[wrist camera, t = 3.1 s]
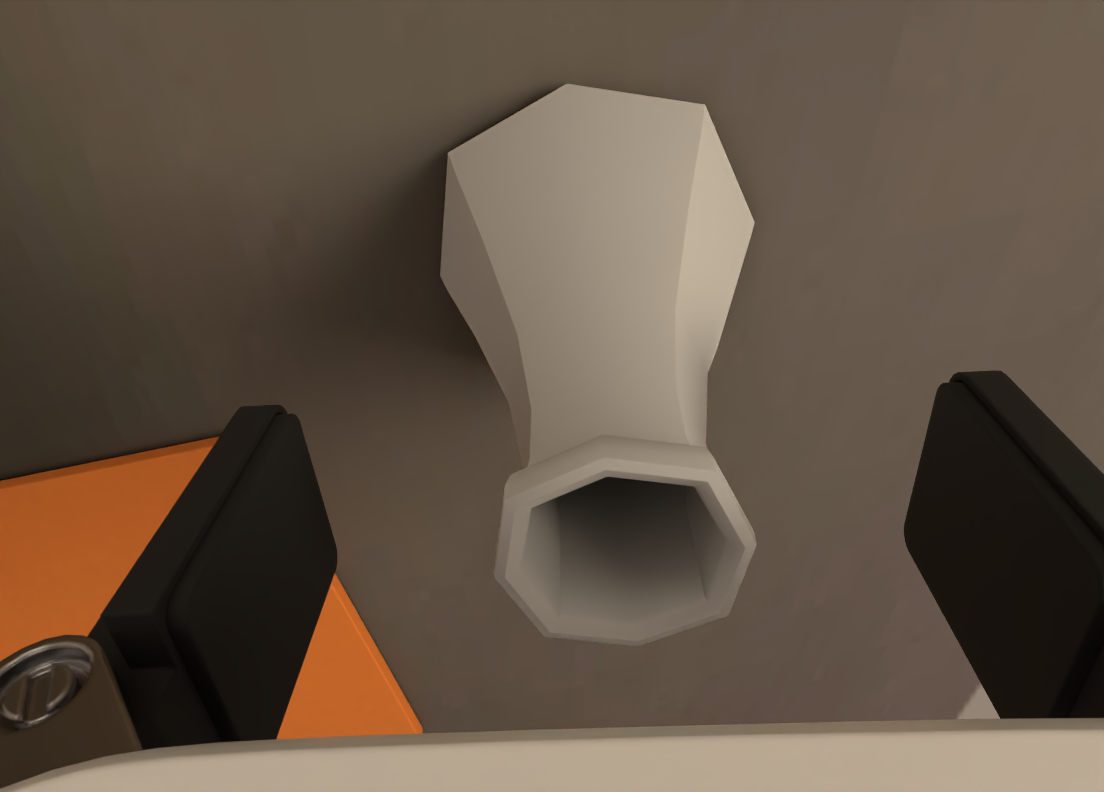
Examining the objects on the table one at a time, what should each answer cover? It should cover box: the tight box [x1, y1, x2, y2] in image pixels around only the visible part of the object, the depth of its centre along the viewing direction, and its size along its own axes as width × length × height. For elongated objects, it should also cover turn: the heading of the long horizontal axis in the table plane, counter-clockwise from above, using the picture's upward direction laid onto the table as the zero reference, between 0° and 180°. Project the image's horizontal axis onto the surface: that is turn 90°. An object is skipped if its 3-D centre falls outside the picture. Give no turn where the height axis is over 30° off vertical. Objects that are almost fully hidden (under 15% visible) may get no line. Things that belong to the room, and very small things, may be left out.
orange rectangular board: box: [0, 436, 423, 739], centre depth 25 cm, size 14×20×1 cm
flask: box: [440, 84, 757, 646], centre depth 13 cm, size 7×7×10 cm
